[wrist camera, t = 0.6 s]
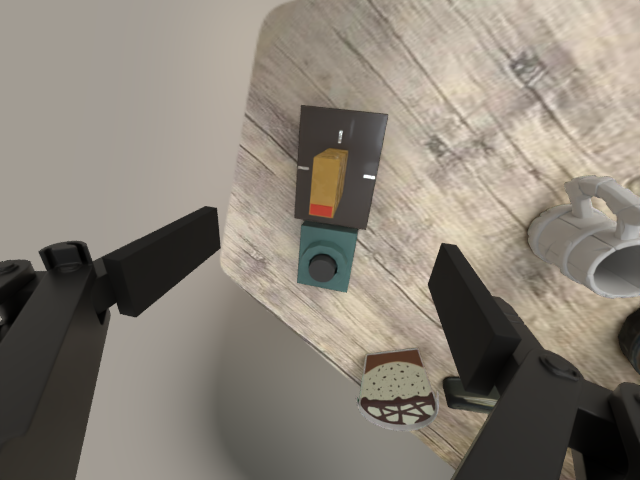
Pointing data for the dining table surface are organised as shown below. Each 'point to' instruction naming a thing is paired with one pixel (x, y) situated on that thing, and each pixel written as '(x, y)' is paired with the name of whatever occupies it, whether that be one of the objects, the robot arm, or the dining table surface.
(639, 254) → the mug
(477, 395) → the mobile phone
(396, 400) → the food container
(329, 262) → the bell button
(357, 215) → the lock plate
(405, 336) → the dining table surface
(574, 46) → the dining table surface
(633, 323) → the beer stein
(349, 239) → the push button box
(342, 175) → the lock knob
